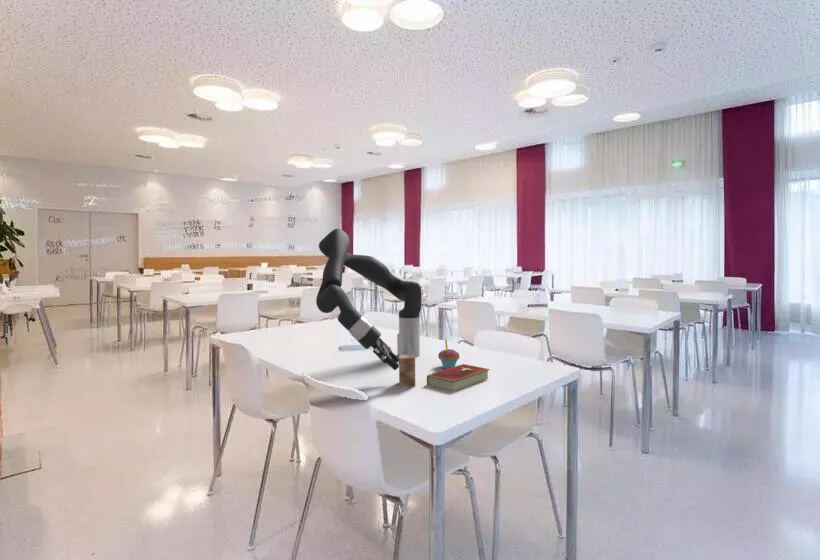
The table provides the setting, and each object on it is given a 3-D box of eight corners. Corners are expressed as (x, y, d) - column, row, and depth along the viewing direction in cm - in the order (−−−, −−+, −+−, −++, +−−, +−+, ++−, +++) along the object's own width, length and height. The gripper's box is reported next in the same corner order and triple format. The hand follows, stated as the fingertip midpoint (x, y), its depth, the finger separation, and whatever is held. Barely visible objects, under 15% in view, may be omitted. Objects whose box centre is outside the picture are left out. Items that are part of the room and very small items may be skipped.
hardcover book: (426, 386, 159) (426, 374, 158) (462, 373, 174) (462, 363, 174) (454, 392, 151) (454, 380, 150) (489, 379, 166) (489, 368, 166)
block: (399, 386, 156) (399, 358, 156) (399, 382, 162) (399, 354, 161) (415, 386, 156) (415, 358, 156) (414, 382, 162) (414, 354, 161)
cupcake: (450, 370, 177) (450, 340, 176) (433, 367, 183) (433, 337, 182) (463, 366, 183) (463, 337, 182) (447, 363, 189) (446, 334, 188)
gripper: (358, 335, 165) (390, 366, 166) (354, 344, 150) (389, 378, 152) (373, 321, 164) (404, 352, 166) (370, 328, 150) (405, 362, 151)
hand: (397, 364), depth 159 cm, fingers open, 8 cm apart
